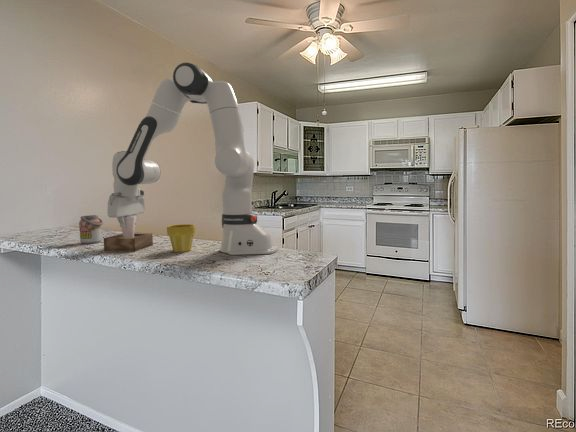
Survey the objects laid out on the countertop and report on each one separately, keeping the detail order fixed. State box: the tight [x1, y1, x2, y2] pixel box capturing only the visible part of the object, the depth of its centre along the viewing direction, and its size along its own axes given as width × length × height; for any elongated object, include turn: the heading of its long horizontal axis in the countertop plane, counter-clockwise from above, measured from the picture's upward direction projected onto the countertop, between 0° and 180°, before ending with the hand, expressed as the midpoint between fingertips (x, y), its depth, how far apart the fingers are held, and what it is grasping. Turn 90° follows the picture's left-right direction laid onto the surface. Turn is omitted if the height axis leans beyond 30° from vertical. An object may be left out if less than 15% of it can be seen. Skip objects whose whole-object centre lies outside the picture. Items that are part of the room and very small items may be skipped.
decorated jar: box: [78, 214, 104, 245], centre depth 145 cm, size 9×8×12 cm
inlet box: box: [102, 232, 154, 252], centre depth 133 cm, size 13×13×5 cm
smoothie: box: [121, 215, 136, 238], centre depth 132 cm, size 6×6×14 cm
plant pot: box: [166, 223, 196, 253], centre depth 127 cm, size 10×10×10 cm
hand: (128, 226), depth 132 cm, fingers closed on smoothie, 5 cm apart
